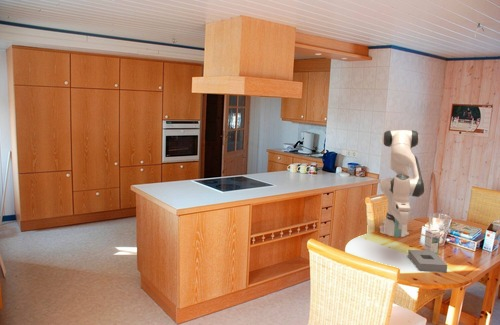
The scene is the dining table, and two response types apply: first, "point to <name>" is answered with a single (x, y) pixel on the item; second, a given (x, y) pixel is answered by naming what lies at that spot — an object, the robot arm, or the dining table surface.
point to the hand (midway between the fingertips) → (398, 227)
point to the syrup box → (432, 240)
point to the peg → (397, 231)
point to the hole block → (427, 261)
